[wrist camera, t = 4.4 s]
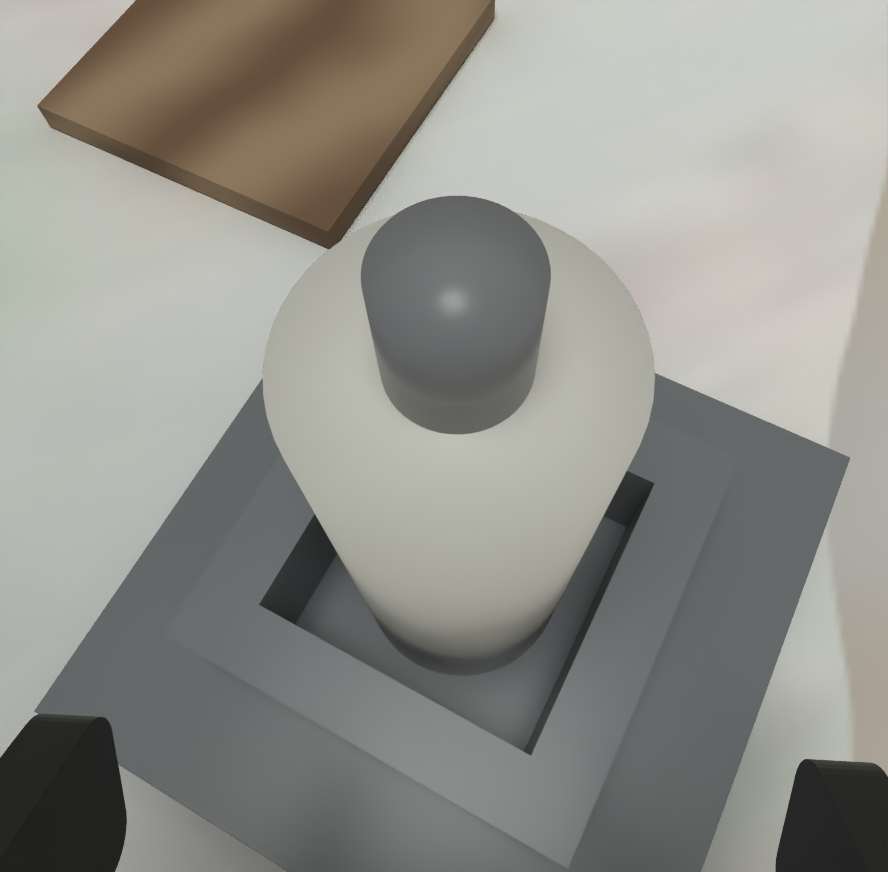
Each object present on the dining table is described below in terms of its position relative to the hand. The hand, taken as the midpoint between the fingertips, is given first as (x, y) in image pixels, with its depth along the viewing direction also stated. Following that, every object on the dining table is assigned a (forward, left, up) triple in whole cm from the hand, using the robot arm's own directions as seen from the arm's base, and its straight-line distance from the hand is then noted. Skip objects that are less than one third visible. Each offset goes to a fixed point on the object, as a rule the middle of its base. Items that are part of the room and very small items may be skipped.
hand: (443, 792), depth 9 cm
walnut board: (-17, +19, -12) cm, 28 cm away
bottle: (-2, +5, -11) cm, 12 cm away
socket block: (-2, +5, -12) cm, 13 cm away
